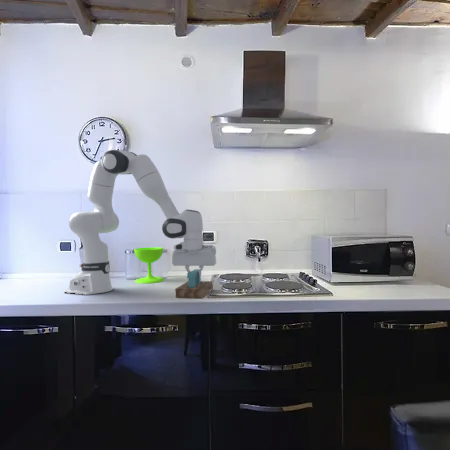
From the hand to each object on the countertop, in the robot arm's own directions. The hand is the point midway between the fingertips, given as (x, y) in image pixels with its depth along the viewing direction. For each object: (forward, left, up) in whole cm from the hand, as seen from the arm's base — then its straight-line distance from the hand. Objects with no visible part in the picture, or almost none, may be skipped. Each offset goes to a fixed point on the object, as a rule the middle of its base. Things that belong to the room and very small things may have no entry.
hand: (194, 275), depth 162 cm
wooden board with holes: (0, 0, -8) cm, 8 cm away
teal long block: (0, 0, -5) cm, 5 cm away
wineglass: (-35, +29, -9) cm, 46 cm away
